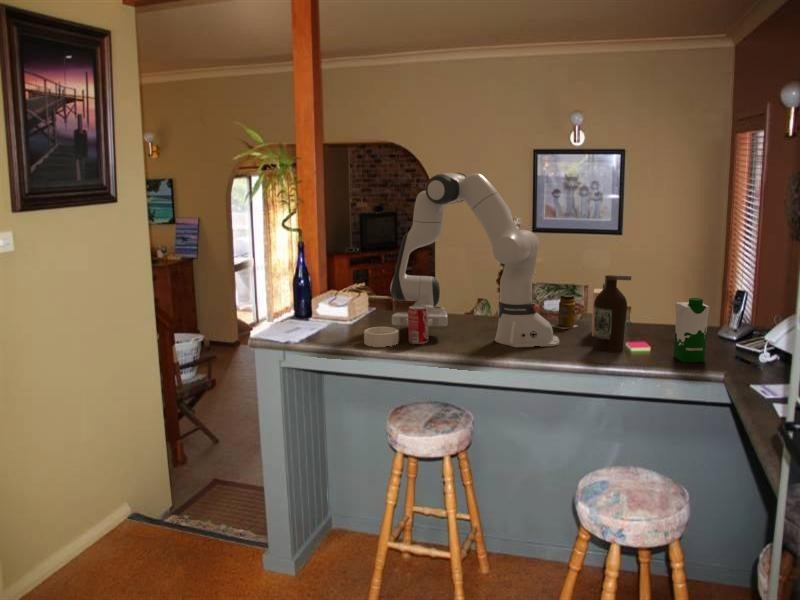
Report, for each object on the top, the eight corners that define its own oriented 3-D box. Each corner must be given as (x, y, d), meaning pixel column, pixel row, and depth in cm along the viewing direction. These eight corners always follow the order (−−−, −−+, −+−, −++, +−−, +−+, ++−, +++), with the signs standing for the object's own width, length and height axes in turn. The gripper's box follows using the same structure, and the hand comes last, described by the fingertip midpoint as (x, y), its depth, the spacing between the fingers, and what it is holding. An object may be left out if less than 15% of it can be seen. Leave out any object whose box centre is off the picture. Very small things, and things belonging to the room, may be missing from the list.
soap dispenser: (591, 336, 257) (594, 276, 253) (592, 331, 265) (594, 273, 261) (628, 338, 254) (631, 277, 250) (628, 333, 262) (631, 274, 258)
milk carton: (681, 363, 222) (685, 300, 218) (669, 355, 230) (673, 295, 227) (708, 362, 222) (713, 300, 218) (695, 355, 231) (700, 294, 227)
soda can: (426, 345, 247) (426, 309, 244) (406, 345, 248) (406, 308, 246) (430, 340, 254) (429, 305, 251) (410, 340, 255) (410, 304, 253)
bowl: (400, 339, 257) (400, 326, 256) (396, 347, 245) (396, 334, 244) (367, 338, 258) (367, 326, 257) (362, 346, 246) (361, 334, 245)
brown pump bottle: (605, 342, 248) (608, 272, 243) (631, 348, 239) (635, 275, 235) (585, 347, 242) (588, 275, 237) (611, 354, 233) (615, 279, 228)
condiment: (579, 326, 274) (580, 295, 271) (564, 329, 269) (565, 298, 266) (564, 323, 279) (565, 293, 277) (549, 326, 274) (550, 295, 272)
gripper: (393, 307, 263) (388, 314, 249) (448, 307, 260) (446, 315, 247) (393, 323, 264) (388, 332, 251) (448, 324, 262) (446, 333, 248)
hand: (418, 324), depth 249 cm, fingers open, 4 cm apart
